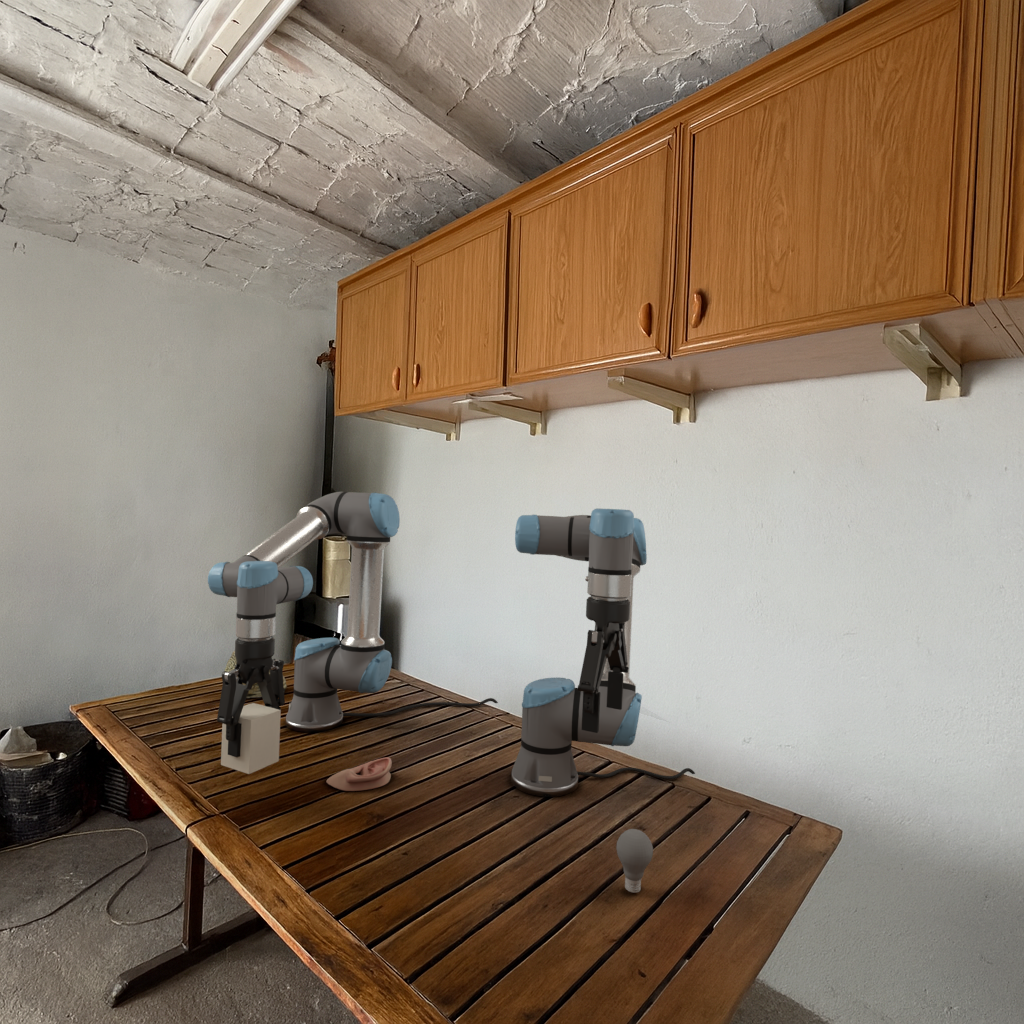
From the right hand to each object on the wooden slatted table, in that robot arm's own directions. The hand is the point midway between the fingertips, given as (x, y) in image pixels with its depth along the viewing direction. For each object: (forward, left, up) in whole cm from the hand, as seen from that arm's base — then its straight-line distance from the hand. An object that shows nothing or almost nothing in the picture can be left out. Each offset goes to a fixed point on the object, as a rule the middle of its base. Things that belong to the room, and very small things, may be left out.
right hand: (602, 719), depth 110 cm
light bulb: (-3, +7, -27) cm, 28 cm away
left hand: (+58, -42, -16) cm, 73 cm away
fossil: (+59, -115, -27) cm, 132 cm away
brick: (+58, -42, -19) cm, 74 cm away
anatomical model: (+35, -46, -27) cm, 64 cm away
